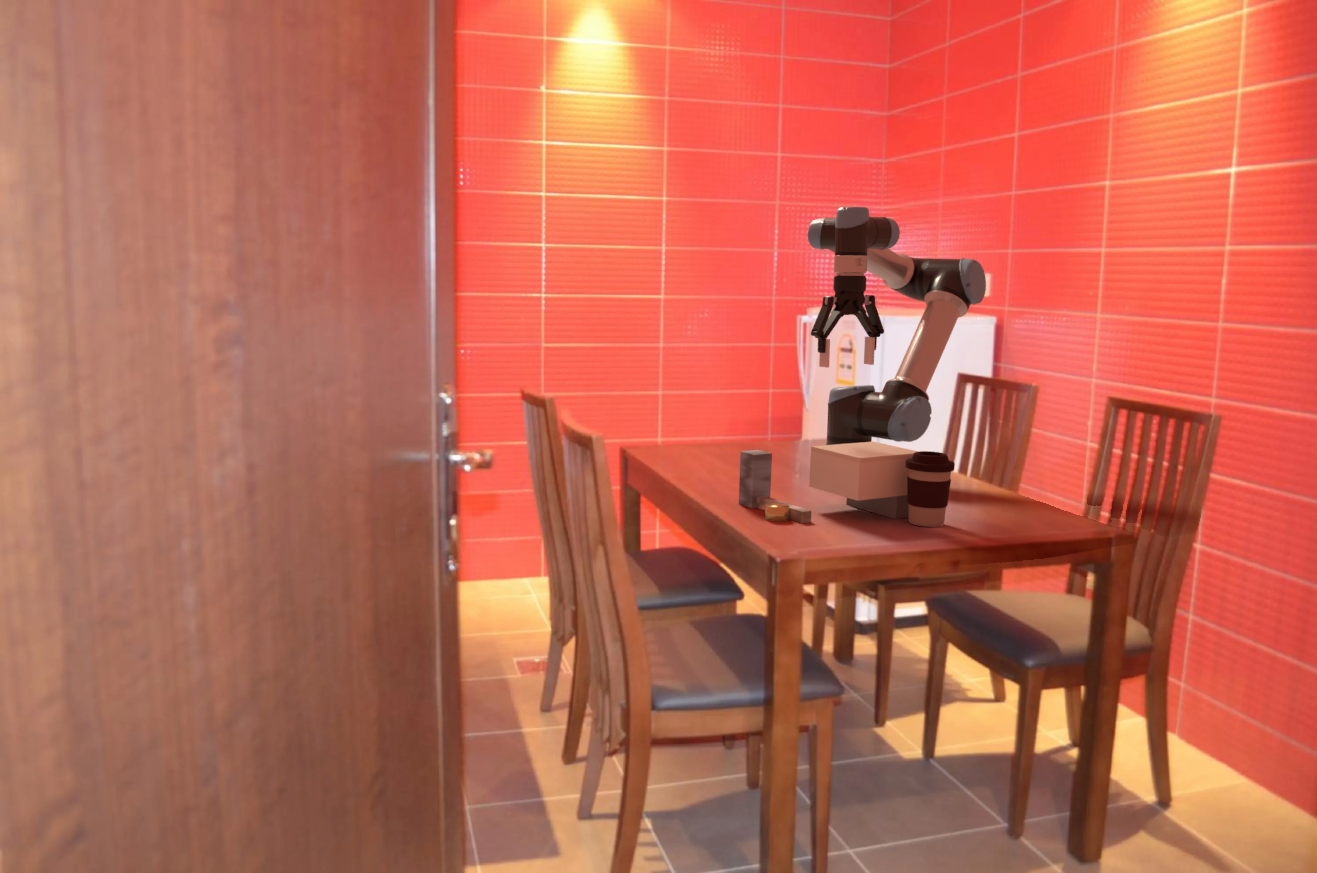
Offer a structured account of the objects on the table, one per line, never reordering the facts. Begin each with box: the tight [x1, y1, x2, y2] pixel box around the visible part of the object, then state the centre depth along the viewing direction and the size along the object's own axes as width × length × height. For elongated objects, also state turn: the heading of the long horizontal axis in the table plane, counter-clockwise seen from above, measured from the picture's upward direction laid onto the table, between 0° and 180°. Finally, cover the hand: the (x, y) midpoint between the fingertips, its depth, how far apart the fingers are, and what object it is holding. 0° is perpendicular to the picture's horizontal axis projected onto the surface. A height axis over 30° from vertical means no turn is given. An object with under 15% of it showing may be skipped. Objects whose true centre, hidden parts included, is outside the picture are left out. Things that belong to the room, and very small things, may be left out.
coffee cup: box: [906, 450, 956, 528], centre depth 221 cm, size 10×10×15 cm
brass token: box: [764, 503, 790, 523], centre depth 223 cm, size 5×5×3 cm
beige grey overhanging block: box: [808, 441, 920, 520], centre depth 231 cm, size 16×18×14 cm
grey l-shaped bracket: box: [738, 449, 812, 524], centre depth 229 cm, size 21×5×12 cm, turn 31°
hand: (846, 365), depth 249 cm, fingers open, 13 cm apart
